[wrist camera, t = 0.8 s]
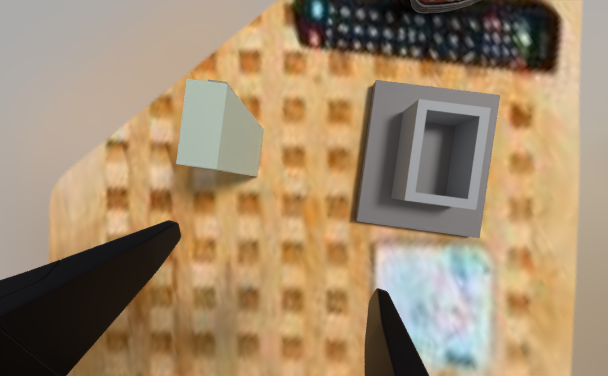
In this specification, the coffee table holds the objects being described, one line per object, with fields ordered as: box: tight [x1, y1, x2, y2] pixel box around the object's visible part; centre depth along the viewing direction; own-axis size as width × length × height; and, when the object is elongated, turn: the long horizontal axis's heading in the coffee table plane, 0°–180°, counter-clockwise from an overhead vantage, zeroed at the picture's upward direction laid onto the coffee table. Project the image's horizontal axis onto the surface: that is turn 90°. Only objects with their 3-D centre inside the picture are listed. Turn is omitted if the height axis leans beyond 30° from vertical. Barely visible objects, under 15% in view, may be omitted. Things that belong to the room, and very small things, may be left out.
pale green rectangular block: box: [176, 79, 264, 177], centre depth 18 cm, size 2×6×10 cm, turn 172°
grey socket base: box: [355, 80, 500, 238], centre depth 20 cm, size 12×14×4 cm
